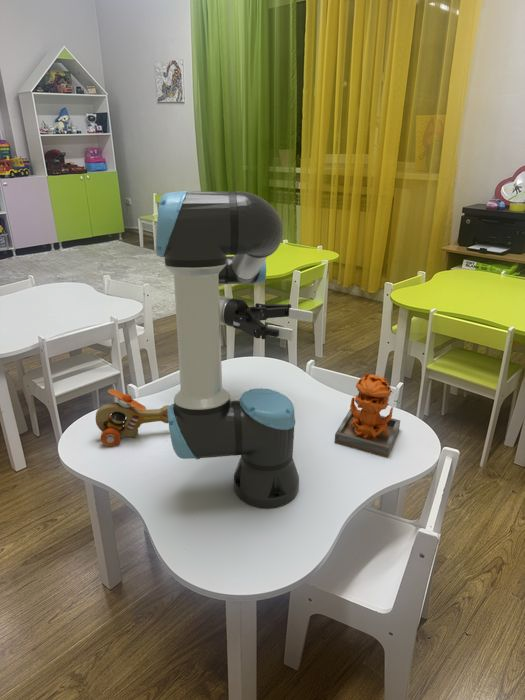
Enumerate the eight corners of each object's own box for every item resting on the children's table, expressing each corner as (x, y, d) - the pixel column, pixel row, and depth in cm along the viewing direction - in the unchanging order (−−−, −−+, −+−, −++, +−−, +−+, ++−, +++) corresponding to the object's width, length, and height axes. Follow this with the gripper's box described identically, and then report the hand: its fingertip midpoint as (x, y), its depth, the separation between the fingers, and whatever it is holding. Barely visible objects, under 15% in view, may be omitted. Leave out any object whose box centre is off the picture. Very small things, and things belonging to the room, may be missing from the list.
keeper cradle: (387, 457, 120) (389, 448, 119) (334, 442, 126) (335, 433, 125) (398, 429, 132) (400, 420, 131) (349, 416, 137) (350, 408, 136)
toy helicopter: (100, 430, 130) (93, 386, 124) (178, 423, 133) (174, 379, 128) (97, 448, 122) (89, 402, 116) (179, 440, 126) (176, 395, 120)
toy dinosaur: (341, 437, 126) (346, 377, 119) (353, 418, 135) (360, 360, 127) (382, 450, 122) (391, 388, 114) (393, 428, 130) (402, 370, 123)
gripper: (250, 310, 140) (318, 323, 132) (205, 341, 120) (282, 358, 112) (250, 286, 137) (320, 297, 129) (203, 313, 117) (283, 328, 109)
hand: (302, 325), depth 120 cm, fingers open, 13 cm apart
